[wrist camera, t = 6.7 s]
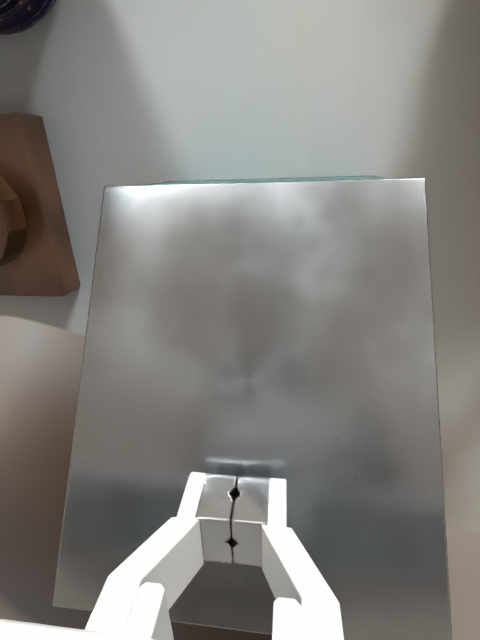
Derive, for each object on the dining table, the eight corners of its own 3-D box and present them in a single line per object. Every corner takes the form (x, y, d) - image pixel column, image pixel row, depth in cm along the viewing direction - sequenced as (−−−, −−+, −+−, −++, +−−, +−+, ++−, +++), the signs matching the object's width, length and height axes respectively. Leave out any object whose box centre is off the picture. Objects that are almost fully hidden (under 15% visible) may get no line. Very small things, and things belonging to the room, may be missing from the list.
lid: (442, 640, 11) (454, 659, 10) (65, 593, 13) (51, 607, 12) (418, 188, 14) (426, 176, 13) (112, 195, 15) (103, 185, 15)
